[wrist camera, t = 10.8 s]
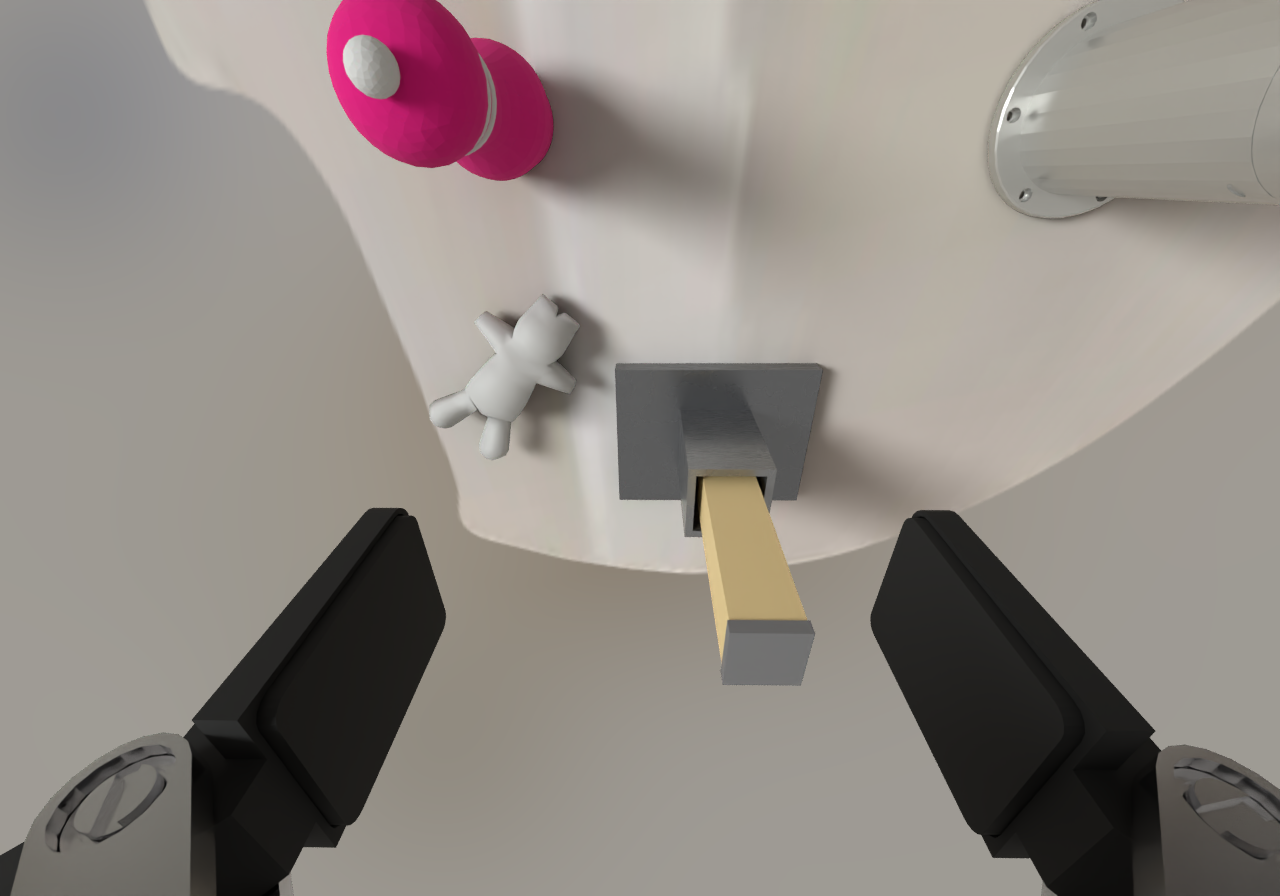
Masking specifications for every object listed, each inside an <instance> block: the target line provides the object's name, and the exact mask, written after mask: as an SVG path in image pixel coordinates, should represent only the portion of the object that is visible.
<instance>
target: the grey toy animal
mask: <svg viewBox="0 0 1280 896" xmlns="http://www.w3.org/2000/svg"><path fill="white" fill-rule="evenodd" d="M557 313H558V306H557V305H556V304H554V303H553V302H552V301H551V300H550V299H548V298H547V297H546V296H545V295H543V294H542V295H541V296H540V297H539V298H538V300H537V301H536V302H535V303H534V304H533V305H532V306H531V307H530V308H529V309H528V310H527V311H526V312H525V313H524V315H523V316H522V317H521V318H520V319H519V320H518V322H517V324H516V326H515V328H514V327H512V326H511V325H509V324H507V323H506V322H504V321H502V320H501V319H499V318H497V317H496V316H494V315H492V314H491V313H489V312H487V311H486V312H484V313H483V314H481V315H480V316H479V318H478V319H477V320H476V321H475V322H474V323H475V324H476V326H477V327H478V328H479V330H480V331H481V332H482V334H483V335H484V337H485V338H486V339H487V341H488V342H489V344H490V345H491V346H492V348H493V349H494V351H495V352H496V353H495V354H494V355H493V356H492V357H491V358H490V359H489V360H488V361H487V362H486V363H485V364H484V365H483V366H482V367H481V369H480V370H479V371H478V372H477V373H476V374H475V375H474V376H473V377H472V379H471V380H470V381H469V383H468V384H467V386H466V388H465V389H464V390H461V391H459V392H456V393H453V394H450V395H448V396H445V397H442V398H440V399H437V400H435V401H434V402H432V403H431V404H430V410H429V413H430V420H431V421H432V423H433V424H434V425H435V426H437V427H440V428H449V427H452V426H454V425H455V424H457V423H458V422H460V421H461V420H463V419H464V418H466V417H467V416H469V415H470V414H472V413H473V412H475V411H476V410H478V411H479V412H480V413H481V414H482V415H484V416H486V417H488V418H487V421H486V424H485V427H484V431H483V434H482V437H481V440H480V443H479V450H480V452H481V454H482V455H483V456H484V457H485V458H486V459H489V460H495V459H498V458H501V457H503V456H505V455H506V454H507V452H508V450H509V441H510V429H511V422H513V421H514V420H515V419H516V418H517V417H518V416H519V415H520V413H521V412H522V410H523V409H524V407H525V405H526V404H527V402H528V400H529V398H530V396H531V394H532V392H533V389H534V387H535V385H536V383H537V384H540V385H543V386H546V387H549V388H552V389H555V390H558V391H561V392H564V393H567V394H570V393H571V392H572V390H573V389H574V387H575V383H576V379H575V378H574V377H573V376H572V375H571V374H570V373H569V372H568V371H567V370H566V369H565V368H564V367H562V366H561V365H560V364H559V363H558V362H557V361H556V360H557V359H559V358H560V357H561V356H562V355H563V354H564V352H565V350H566V349H567V347H568V345H569V344H570V342H571V340H572V338H573V336H574V334H575V333H576V332H577V330H578V329H579V326H580V324H579V323H578V322H576V321H575V320H574V319H573V318H572V317H570V316H569V315H568V314H567V313H565V312H564V313H561V314H559V315H557Z"/></svg>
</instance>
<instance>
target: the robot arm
mask: <svg viewBox="0 0 1280 896" xmlns="http://www.w3.org/2000/svg"><path fill="white" fill-rule="evenodd" d="M1007 115H1008V118H1007ZM988 166H989V172H990V177H991V180H992V182H993V185H994V187H995V189H996V191H997V193H998V194H999V195H1000V197H1001V198H1002V199H1003V200H1004V202H1005V203H1006V204H1008V205H1009V206H1011V207H1012V208H1013V209H1015V210H1016V211H1018V212H1021V213H1024V214H1026V215H1029V216H1035V217H1042V218H1065V217H1070V216H1075V215H1080V214H1082V213H1085V212H1088V211H1090V210H1093V209H1096V208H1098V207H1100V206H1102V205H1104V204H1106V203H1107V202H1109V201H1111V200H1113V199H1115V198H1116V197H1119V198H1140V199H1160V200H1181V201H1202V202H1223V203H1243V204H1264V205H1280V0H1188V1H1184V0H1098V1H1096V2H1093V3H1091V4H1089V5H1087V6H1085V7H1082V8H1081V9H1079V10H1078V11H1076V12H1075V13H1073V14H1072V15H1070V16H1069V17H1067V18H1066V19H1064V20H1063V21H1061V22H1060V23H1059V24H1058V25H1056V26H1055V27H1054V28H1053V29H1052V30H1051V31H1050V32H1048V33H1047V34H1046V35H1045V36H1044V37H1043V38H1042V39H1041V40H1040V41H1039V42H1038V43H1037V44H1036V45H1035V47H1034V48H1033V49H1032V50H1031V51H1030V52H1029V53H1028V55H1027V56H1026V57H1025V58H1024V59H1023V61H1022V62H1021V64H1020V65H1019V67H1018V68H1017V70H1016V71H1015V73H1014V74H1013V76H1012V77H1011V79H1010V80H1009V82H1008V84H1007V86H1006V88H1005V90H1004V92H1003V94H1002V96H1001V98H1000V100H999V103H998V106H997V108H996V111H995V114H994V117H993V120H992V123H991V129H990V134H989V139H988ZM445 620H446V613H445V608H444V605H443V602H442V599H441V596H440V592H439V589H438V586H437V582H436V579H435V576H434V573H433V570H432V567H431V564H430V560H429V557H428V554H427V551H426V548H425V545H424V541H423V538H422V535H421V532H420V529H419V525H418V522H417V520H416V518H415V517H414V516H409V515H408V513H407V511H406V510H405V509H402V508H372V509H369V510H368V511H367V512H365V513H364V515H363V516H362V517H361V518H360V520H359V521H358V522H357V523H356V524H355V525H354V527H353V528H352V529H351V530H350V531H349V532H348V534H347V535H346V536H345V537H344V538H343V540H342V541H341V542H340V543H339V545H338V546H337V547H336V548H335V549H334V550H333V552H332V553H331V554H330V555H329V556H328V558H327V559H326V560H325V561H324V562H323V564H322V565H321V566H320V567H319V568H318V570H317V571H316V572H315V573H314V574H313V576H312V577H311V578H310V579H309V580H308V582H307V583H306V584H305V585H304V586H303V588H302V589H301V590H300V591H299V592H298V593H297V595H296V596H295V597H294V598H293V599H292V601H291V602H290V603H289V604H288V605H287V607H286V608H285V609H284V610H283V612H282V613H281V614H280V615H279V616H278V617H277V619H276V620H275V621H274V622H273V624H272V625H271V626H270V627H269V628H268V630H267V631H266V632H265V633H264V634H263V635H262V637H261V638H260V639H259V640H258V641H257V643H256V644H255V645H254V646H253V647H252V648H251V650H250V651H249V652H248V653H247V654H246V656H245V657H244V658H243V659H242V660H241V662H240V663H239V664H238V665H237V666H236V668H235V669H234V670H233V671H232V672H231V674H230V675H229V676H228V677H227V679H226V680H225V681H224V682H223V683H222V684H221V686H220V687H219V688H218V689H217V691H216V692H215V693H214V694H213V695H212V696H211V698H210V699H209V700H208V701H207V702H206V703H205V705H204V706H203V707H202V708H201V710H200V711H199V712H198V713H197V714H196V715H195V717H194V718H193V719H192V721H193V722H194V723H195V724H194V725H193V726H192V728H191V729H190V730H189V731H188V733H187V734H186V735H185V736H184V737H182V736H180V735H179V734H171V733H159V734H153V735H148V736H143V737H141V738H138V739H136V740H133V741H131V742H128V743H126V744H123V745H121V746H119V747H117V748H116V749H114V750H112V751H110V752H108V753H107V754H105V755H103V756H101V757H100V758H98V759H97V760H95V761H94V762H92V763H91V764H90V765H88V766H87V767H86V768H84V769H83V770H82V771H80V772H79V773H78V774H76V775H75V776H74V777H72V778H71V779H70V780H69V781H68V782H67V783H66V784H65V785H64V786H63V787H62V788H61V789H60V790H59V791H58V792H57V793H56V794H55V795H54V796H53V797H52V798H51V799H50V800H49V801H48V803H47V804H46V805H45V807H44V808H43V809H42V811H41V812H40V813H39V814H38V816H37V817H36V819H35V820H34V822H33V824H32V826H31V828H30V831H29V833H28V835H27V837H26V839H25V842H23V843H21V844H20V845H18V846H16V847H14V848H13V849H11V850H9V851H7V852H6V853H4V854H2V855H0V896H294V894H293V887H292V880H291V870H292V868H293V866H294V864H295V862H296V860H297V858H298V856H299V854H300V852H301V850H302V848H303V847H334V848H335V847H336V846H337V844H338V842H339V840H340V838H341V836H342V833H343V831H344V829H345V827H346V825H351V824H352V823H354V822H355V821H356V819H357V818H358V817H359V815H360V813H361V811H362V809H363V807H364V805H365V803H366V801H367V798H368V796H369V794H370V792H371V789H372V787H373V785H374V783H375V781H376V778H377V776H378V774H379V771H380V769H381V767H382V765H383V763H384V760H385V758H386V756H387V754H388V752H389V749H390V747H391V745H392V743H393V740H394V738H395V736H396V734H397V732H398V729H399V727H400V725H401V723H402V720H403V718H404V716H405V714H406V712H407V709H408V707H409V705H410V703H411V700H412V698H413V696H414V694H415V692H416V689H417V687H418V685H419V683H420V680H421V678H422V676H423V673H424V671H425V669H426V667H427V665H428V663H429V660H430V658H431V656H432V654H433V651H434V649H435V647H436V645H437V642H438V640H439V638H440V636H441V634H442V631H443V629H444V626H445ZM871 627H872V631H873V634H874V636H875V638H876V640H877V642H878V644H879V646H880V648H881V650H882V652H883V654H884V656H885V658H886V660H887V662H888V664H889V666H890V668H891V670H892V672H893V674H894V676H895V679H896V681H897V682H898V685H899V687H900V689H901V690H902V692H903V695H904V697H905V699H906V701H907V703H908V705H909V707H910V709H911V711H912V713H913V715H914V717H915V719H916V721H917V723H918V725H919V727H920V729H921V731H922V733H923V735H924V737H925V740H926V741H927V744H928V745H929V748H930V750H931V752H932V754H933V756H934V758H935V760H936V762H937V763H938V766H939V768H940V770H941V772H942V774H943V776H944V778H945V780H946V782H947V784H948V786H949V788H950V790H951V792H952V794H953V796H954V798H955V800H956V802H957V805H958V806H959V809H960V811H961V813H962V815H963V817H964V818H965V820H966V822H967V824H968V825H969V826H970V828H971V829H972V830H973V831H974V832H975V833H977V834H980V835H982V837H983V839H984V841H985V843H986V845H987V847H988V849H989V851H990V853H991V855H992V857H993V858H1031V860H1032V862H1033V864H1034V866H1035V867H1036V869H1037V871H1038V873H1039V875H1040V876H1041V878H1042V880H1043V883H1042V894H1041V896H1280V789H1278V788H1277V787H1275V786H1274V785H1273V784H1271V783H1270V782H1269V781H1267V780H1266V779H1264V778H1263V777H1262V776H1260V775H1259V774H1257V773H1255V772H1254V771H1251V770H1250V769H1248V768H1246V767H1245V766H1243V765H1241V764H1239V763H1237V762H1236V761H1234V760H1232V759H1230V758H1227V757H1225V756H1222V755H1219V754H1217V753H1215V752H1212V751H1210V750H1207V749H1203V748H1198V747H1194V746H1189V745H1176V746H1168V747H1166V748H1165V749H1164V750H1162V751H1161V750H1160V749H1159V748H1158V747H1157V746H1156V745H1155V743H1154V742H1153V741H1152V740H1151V739H1150V738H1149V737H1150V736H1151V735H1152V734H1153V733H1154V732H1155V730H1154V729H1153V728H1152V727H1151V726H1150V724H1149V723H1148V722H1147V721H1146V720H1145V719H1144V718H1143V717H1142V716H1141V715H1140V713H1139V712H1137V710H1136V709H1135V708H1134V707H1133V706H1132V705H1131V704H1130V703H1129V701H1128V700H1127V699H1126V698H1125V697H1124V696H1123V695H1122V694H1121V693H1120V692H1119V691H1118V689H1117V688H1116V687H1115V686H1114V685H1113V684H1112V683H1111V682H1110V681H1109V680H1108V679H1107V677H1106V676H1105V675H1104V674H1103V673H1102V672H1101V671H1100V670H1099V669H1098V667H1097V666H1096V665H1095V664H1094V663H1093V662H1092V661H1091V660H1090V659H1089V658H1088V657H1087V656H1086V654H1085V653H1084V652H1083V651H1082V650H1081V649H1080V648H1079V647H1078V646H1077V644H1076V643H1075V642H1074V641H1073V640H1072V639H1071V638H1070V637H1069V636H1068V635H1067V634H1066V633H1065V631H1064V630H1063V629H1062V628H1061V627H1060V626H1059V625H1058V624H1057V623H1056V622H1055V620H1054V619H1053V618H1052V617H1051V616H1050V615H1049V614H1048V613H1047V612H1046V611H1045V609H1044V608H1043V607H1042V606H1041V605H1040V604H1039V603H1038V602H1037V601H1036V600H1035V598H1034V597H1033V596H1032V595H1031V594H1030V593H1029V592H1028V591H1027V590H1026V589H1025V588H1024V586H1023V585H1022V584H1021V583H1020V582H1019V581H1018V580H1017V579H1016V578H1015V577H1014V575H1013V574H1012V573H1011V572H1010V571H1009V570H1008V569H1007V568H1006V567H1005V566H1004V565H1003V564H1002V562H1001V561H1000V560H999V559H998V558H997V557H996V556H995V555H994V554H993V553H992V551H991V550H990V549H989V548H988V547H987V546H986V545H985V544H984V543H983V541H982V540H981V539H980V538H979V537H978V536H977V535H976V534H975V533H974V532H973V531H972V529H971V528H970V527H969V526H968V525H967V524H966V523H965V522H964V521H963V520H962V518H961V517H960V516H959V515H958V514H956V513H955V512H953V511H950V510H920V511H917V512H916V513H914V515H913V517H912V518H908V519H906V520H905V522H904V524H903V526H902V529H901V532H900V534H899V537H898V540H897V543H896V546H895V548H894V551H893V554H892V557H891V559H890V562H889V565H888V568H887V571H886V574H885V576H884V579H883V582H882V585H881V587H880V590H879V593H878V596H877V599H876V601H875V604H874V607H873V610H872V613H871Z"/></svg>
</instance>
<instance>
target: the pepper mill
mask: <svg viewBox="0 0 1280 896" xmlns="http://www.w3.org/2000/svg"><path fill="white" fill-rule="evenodd" d="M327 60H328V68H329V73H330V77H331V81H332V84H333V87H334V90H335V92H336V94H337V97H338V99H339V101H340V104H341V105H342V107H343V109H344V111H345V113H346V114H347V116H348V118H349V119H350V121H351V122H352V123H353V125H354V126H355V127H356V128H357V130H358V131H359V132H360V133H361V134H362V135H363V136H364V137H365V138H366V139H367V140H368V141H369V142H370V143H371V144H372V145H373V146H375V147H376V148H378V149H379V150H380V151H382V152H383V153H385V154H386V155H388V156H390V157H392V158H394V159H396V160H398V161H401V162H404V163H407V164H410V165H413V166H416V167H427V168H435V167H440V166H446V165H450V164H452V163H454V162H456V161H457V162H458V163H459V164H460V165H461V166H462V167H464V168H465V169H467V170H468V171H470V172H471V173H473V174H476V175H478V176H480V177H484V178H487V179H491V180H497V181H506V180H511V179H515V178H518V177H520V176H522V175H524V174H526V173H527V172H528V171H530V170H531V169H532V168H533V167H534V166H536V165H537V164H538V163H539V162H540V161H541V160H542V159H543V158H544V156H545V155H546V153H547V151H548V149H549V147H550V144H551V141H552V136H553V115H552V110H551V106H550V104H549V101H548V98H547V96H546V93H545V90H544V88H543V85H542V83H541V81H540V79H539V77H538V76H537V74H536V73H535V71H534V70H533V68H532V67H531V66H530V64H529V63H528V62H527V61H526V60H525V59H524V58H523V57H522V56H521V55H519V54H518V53H517V52H516V51H514V50H513V49H511V48H509V47H508V46H506V45H504V44H502V43H499V42H496V41H494V40H491V39H484V38H471V39H470V37H469V36H468V34H467V32H466V31H465V29H464V28H463V26H462V25H461V24H460V23H459V22H458V21H457V19H456V18H455V17H454V16H453V15H452V14H451V13H450V12H449V11H448V10H447V9H446V8H445V7H444V6H442V5H441V4H440V3H439V2H438V1H436V0H343V1H342V2H341V3H340V5H339V7H338V8H337V10H336V11H335V13H334V15H333V18H332V21H331V24H330V27H329V31H328V35H327Z"/></svg>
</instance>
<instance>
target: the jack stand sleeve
mask: <svg viewBox="0 0 1280 896" xmlns="http://www.w3.org/2000/svg"><path fill="white" fill-rule="evenodd" d="M822 372H823V370H822V368H821V367H820V366H819V365H818V364H616V368H615V378H616V407H617V436H618V465H619V494H620V500H681V506H682V516H683V525H684V535H685V537H702V531H701V524H700V517H699V511H698V504H697V483H698V476H756V478H757V481H758V484H759V487H760V489H761V492H762V495H763V498H764V501H765V503H766V506H767V509H768V512H769V513H770V507H771V502H772V500H797V495H798V490H799V485H800V480H801V475H802V470H803V465H804V460H805V455H806V450H807V446H808V441H809V436H810V431H811V426H812V421H813V416H814V411H815V406H816V401H817V396H818V391H819V387H820V382H821V377H822Z"/></svg>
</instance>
